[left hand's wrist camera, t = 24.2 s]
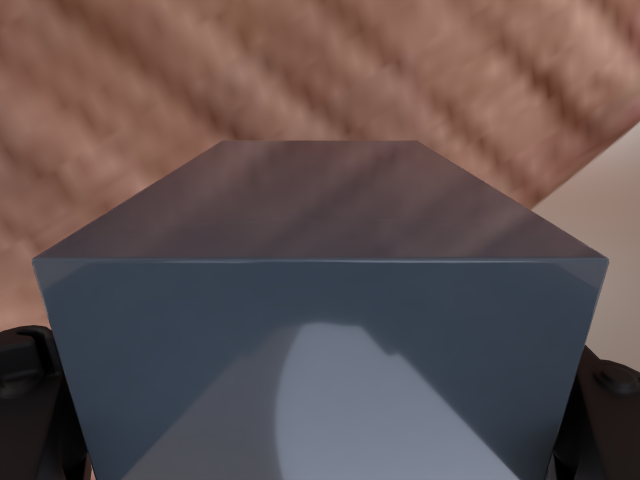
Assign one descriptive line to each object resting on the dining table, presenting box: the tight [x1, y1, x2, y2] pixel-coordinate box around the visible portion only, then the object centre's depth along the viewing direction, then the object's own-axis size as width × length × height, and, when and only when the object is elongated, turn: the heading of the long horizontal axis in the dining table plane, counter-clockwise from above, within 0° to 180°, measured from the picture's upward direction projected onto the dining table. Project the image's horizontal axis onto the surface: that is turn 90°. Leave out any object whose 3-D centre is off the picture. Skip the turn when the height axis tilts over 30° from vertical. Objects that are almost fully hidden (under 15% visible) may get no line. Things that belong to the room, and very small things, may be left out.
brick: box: [32, 141, 609, 480], centre depth 12 cm, size 8×8×11 cm
